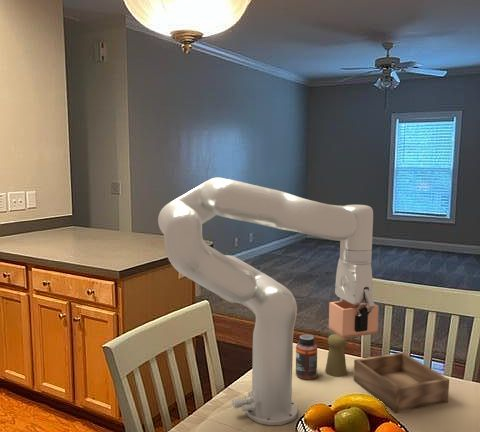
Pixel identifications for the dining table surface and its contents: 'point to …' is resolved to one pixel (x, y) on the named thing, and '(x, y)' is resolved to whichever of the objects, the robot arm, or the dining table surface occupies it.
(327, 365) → the olive green pawn
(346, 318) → the small crate
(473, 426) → the dining table surface
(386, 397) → the big crate
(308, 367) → the supplement bottle
